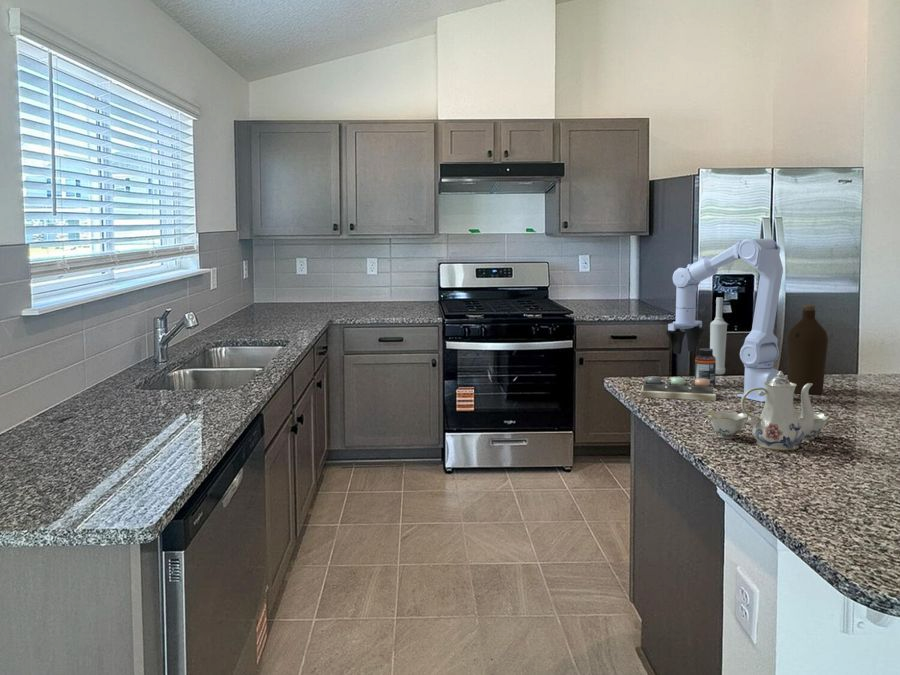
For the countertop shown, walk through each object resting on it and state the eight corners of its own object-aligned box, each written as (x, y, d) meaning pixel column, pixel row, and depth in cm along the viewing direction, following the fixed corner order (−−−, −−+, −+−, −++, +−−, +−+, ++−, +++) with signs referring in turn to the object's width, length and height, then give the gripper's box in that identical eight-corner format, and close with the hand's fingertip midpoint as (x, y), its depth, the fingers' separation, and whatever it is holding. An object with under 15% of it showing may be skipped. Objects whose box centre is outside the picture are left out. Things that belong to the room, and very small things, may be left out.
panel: (714, 393, 221) (714, 382, 220) (715, 400, 211) (716, 388, 211) (642, 390, 226) (642, 379, 226) (640, 397, 217) (640, 385, 217)
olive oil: (824, 396, 216) (829, 307, 213) (783, 393, 221) (787, 306, 218) (825, 390, 225) (830, 304, 222) (785, 387, 230) (789, 303, 227)
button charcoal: (661, 383, 222) (661, 376, 221) (661, 385, 218) (661, 378, 218) (647, 382, 223) (647, 375, 223) (646, 385, 219) (646, 378, 219)
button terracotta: (709, 385, 218) (709, 378, 218) (709, 388, 214) (710, 381, 214) (694, 384, 219) (694, 377, 219) (694, 387, 215) (694, 380, 215)
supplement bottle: (698, 383, 237) (700, 347, 235) (718, 385, 233) (719, 348, 232) (691, 386, 232) (692, 349, 231) (710, 388, 228) (712, 350, 227)
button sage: (685, 384, 220) (685, 377, 220) (685, 387, 216) (685, 379, 216) (670, 383, 221) (670, 376, 221) (670, 386, 217) (670, 379, 217)
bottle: (713, 371, 258) (715, 296, 255) (728, 373, 255) (730, 297, 251) (705, 373, 255) (708, 297, 252) (720, 375, 251) (723, 298, 248)
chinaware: (816, 438, 177) (816, 366, 177) (857, 451, 161) (857, 371, 160) (696, 440, 176) (696, 368, 176) (724, 453, 160) (724, 373, 159)
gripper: (688, 305, 240) (687, 348, 242) (659, 308, 231) (658, 353, 233) (708, 307, 235) (707, 351, 237) (680, 310, 226) (678, 355, 228)
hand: (684, 352), depth 234 cm, fingers open, 7 cm apart
